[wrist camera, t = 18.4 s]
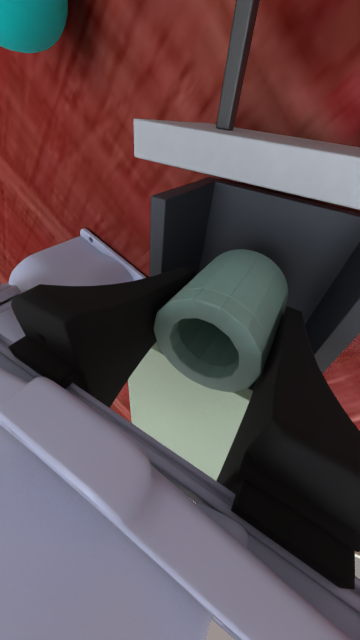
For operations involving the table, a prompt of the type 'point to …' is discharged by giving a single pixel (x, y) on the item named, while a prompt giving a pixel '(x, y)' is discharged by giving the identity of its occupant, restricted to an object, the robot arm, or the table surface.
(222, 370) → the jar
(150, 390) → the green drawer cabinet
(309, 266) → the drawer
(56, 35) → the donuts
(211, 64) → the table surface
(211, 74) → the table surface
